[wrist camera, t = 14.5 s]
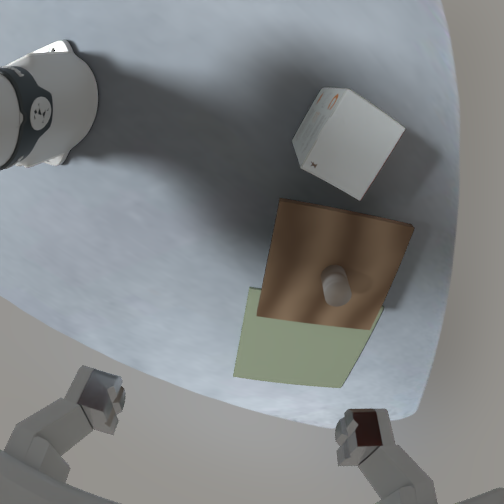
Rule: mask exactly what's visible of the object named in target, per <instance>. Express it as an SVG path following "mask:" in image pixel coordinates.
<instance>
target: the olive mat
mask: <svg viewBox="0 0 504 504" xmlns="http://www.w3.org/2000/svg"><path fill="white" fill-rule="evenodd" d="M260 294H261V289H259V288H253V287H250V288H249V293H248V299H247V304H246V309H245V315H244V320H243V326H242V331H241V336H240V342H239V347H238V353H237V358H236V363H235V369H234V374H233V377H239V378H246V379H253V380H260V381H268V382H277V383H286V384H295V385H306V386H318V387H332V388H341V386H342V385H343V383H344V381H345V380H346V378H347V376H348V375H349V373H350V371H351V369H352V368H353V366H354V364H355V362H356V360H357V359H358V357H359V355H360V353H361V351H362V350H363V348H364V346H365V344H366V342H367V340H368V338H369V336H370V334H371V332H372V331H373V329H374V327H375V325H376V323H377V321H378V319H379V317H380V315H381V313H382V311H383V308H384V307H383V306H381V308H380V311H379V313H378V315H377V317H376V319H375V321H374V323H373V325H372V327H371V329H370V330H362V329H353V328H343V327H334V326H326V325H317V324H309V323H301V322H294V321H286V320H279V319H272V318H265V317H258V316H256V315H257V308H258V303H259V298H260Z"/></svg>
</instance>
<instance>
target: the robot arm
mask: <svg viewBox="0 0 504 504" xmlns="http://www.w3.org/2000/svg"><path fill="white" fill-rule="evenodd" d="M54 49H55V52H54ZM97 106H98V89H97V84H96V80H95V77H94V75H93V73H92V71H91V69H90V68H89V66H88V65H87V64H86V63H85V62H84V61H83V60H82V59H80V58H79V57H77V56H76V55H75V54H74V52H73V50H72V48H71V46H70V44H69V42H68V41H67V40H59V41H56V42H54V43H52V44H49V45H47V46H45V47H42V48H40V49H38V50H36V51H34V52H32V53H29V54H26V55H25V56H23V57H21V58H19V59H17V60H15V61H13V62H11V63H10V64H8V65H6V66H3V67H0V170H3V169H7V168H9V167H12V166H14V165H15V164H16V166H25V168H30V167H33V166H35V165H38V164H40V163H43V162H44V163H47V164H50V165H53V166H57V165H61V164H62V163H63V162H64V161H65V159H66V157H67V155H68V153H69V151H70V150H71V149H72V148H73V147H74V146H75V145H77V144H78V143H79V142H80V141H81V140H82V139H83V138H84V137H85V136H86V134H87V133H88V132H89V130H90V128H91V126H92V124H93V122H94V119H95V116H96V112H97ZM121 384H122V379H121V377H120V376H117V375H113V374H110V373H106V372H103V371H99V370H97V369H94V368H90V367H87V366H82V367H80V369H79V370H78V372H77V374H76V376H75V378H74V380H73V382H72V384H71V386H70V388H69V390H68V392H67V394H66V396H65V398H64V399H63V398H60V399H58V400H56V401H55V402H53V403H51V404H50V405H48V406H47V407H45V408H43V409H41V410H40V411H38V412H36V413H35V414H33V415H31V416H30V417H28V418H26V419H24V420H23V421H21V422H19V423H18V424H16V426H15V428H14V430H13V433H12V434H11V436H10V438H9V441H8V443H7V445H6V447H5V449H4V451H2V450H0V504H120V503H117V502H114V501H111V500H108V499H105V498H102V497H99V496H97V495H94V494H91V493H88V492H85V491H83V490H80V489H78V488H76V487H73V486H71V485H69V484H66V480H67V477H68V474H69V471H70V467H69V465H68V464H67V463H66V462H65V460H64V459H63V458H62V457H61V456H62V455H63V454H64V453H65V452H67V451H68V450H69V449H70V448H72V447H73V446H74V445H75V444H77V443H78V442H79V441H80V440H82V439H83V438H84V437H85V436H87V435H88V434H89V433H90V432H92V431H93V429H94V430H98V431H101V432H104V433H108V434H111V435H114V432H115V429H116V427H117V424H118V418H117V416H116V415H117V414H119V413H120V412H122V410H123V407H124V403H125V390H124V388H123V387H122V386H121ZM344 414H345V417H344V418H342V419H340V420H339V422H338V423H337V426H336V430H335V438H336V439H335V440H336V442H337V443H338V444H339V446H340V447H339V449H338V450H337V460H338V466H358V467H359V469H360V470H361V472H362V473H363V474H364V476H365V477H366V479H367V480H368V481H369V483H370V484H371V486H372V487H373V488H374V490H375V491H376V493H377V494H378V495H379V497H380V498H381V500H380V501H379V502H377V503H375V504H438V503H437V499H436V493H435V488H434V483H433V480H432V479H431V478H430V477H429V476H428V475H427V474H426V473H425V472H424V471H423V470H422V469H421V468H420V467H419V466H418V465H417V464H416V463H415V461H413V459H412V458H411V457H409V455H408V454H407V453H406V452H405V451H404V450H403V449H402V448H401V447H400V446H399V445H395V440H394V436H393V431H392V427H391V423H390V419H389V414H388V411H387V410H386V409H348V410H347V411H346V412H345V413H344ZM455 504H504V488H496V489H493V490H491V491H488V492H486V493H483V494H481V495H478V496H475V497H473V498H470V499H467V500H464V501H461V502H458V503H455Z"/></svg>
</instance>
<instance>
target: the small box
mask: <svg viewBox="0 0 504 504" xmlns="http://www.w3.org/2000/svg"><path fill="white" fill-rule="evenodd" d="M405 130H406V129H405V127H403V126H402V125H401V124H399V123H398V122H397V121H395V120H394V119H393V118H391V117H390V116H389V115H387V114H386V113H384V112H383V111H382V110H380V109H379V108H377V107H376V106H375V105H373V104H372V103H370V102H369V101H367V100H366V99H364V98H363V97H361V96H360V95H358V94H357V93H355V92H354V91H352V90H351V89H348V88H347V89H345V88H330V87H323V88H322V89H321V90H320V92H319V94H318V95H317V97H316V99H315V100H314V102H313V104H312V106H311V107H310V109H309V111H308V113H307V114H306V116H305V118H304V120H303V121H302V123H301V125H300V127H299V128H298V130H297V132H296V134H295V136H294V138H293V140H292V143H293V146H294V149H295V152H296V155H297V158H298V161H299V164H300V168H301V169H303V170H305V171H307V172H309V173H311V174H313V175H315V176H317V177H318V178H320V179H322V180H324V181H326V182H328V183H329V184H331V185H333V186H335V187H337V188H339V189H340V190H342V191H344V192H345V193H347V194H349V195H351V196H352V197H354V198H356V199H357V200H359V201H360V200H361V199H362V198H363V196H364V195H365V193H366V192H367V190H368V188H369V187H370V185H371V184H372V182H373V181H374V179H375V178H376V176H377V175H378V173H379V171H380V170H381V168H382V167H383V165H384V163H385V162H386V160H387V159H388V157H389V156H390V154H391V152H392V151H393V149H394V147H395V146H396V144H397V143H398V141H399V139H400V138H401V136H402V134H403V133H404V131H405Z"/></svg>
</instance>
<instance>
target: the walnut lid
mask: <svg viewBox="0 0 504 504" xmlns="http://www.w3.org/2000/svg"><path fill="white" fill-rule="evenodd" d="M413 231H414V227H413V226H412V224H408V223H404V222H399V221H395V220H390V219H386V218H381V217H377V216H372V215H367V214H363V213H358V212H353V211H348V210H343V209H338V208H333V207H328V206H323V205H317V204H312V203H307V202H301V201H296V200H290V199H284V198H280V199H279V204H278V209H277V214H276V219H275V224H274V229H273V235H272V240H271V245H270V249H269V254H268V259H267V264H266V269H265V274H264V279H263V284H262V289H261V294H260V298H259V303H258V308H257V315H256V316H258V317H265V318H272V319H279V320H286V321H294V322H301V323H309V324H317V325H326V326H334V327H343V328H353V329H362V330H370V329H371V327H372V325H373V323H374V321H375V319H376V317H377V315H378V313H379V311H380V308H381V306H382V304H383V302H384V300H385V298H386V296H387V293H388V291H389V289H390V287H391V284H392V282H393V280H394V278H395V275H396V273H397V271H398V268H399V266H400V264H401V261H402V259H403V256H404V254H405V251H406V249H407V246H408V244H409V241H410V239H411V236H412V233H413Z"/></svg>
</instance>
